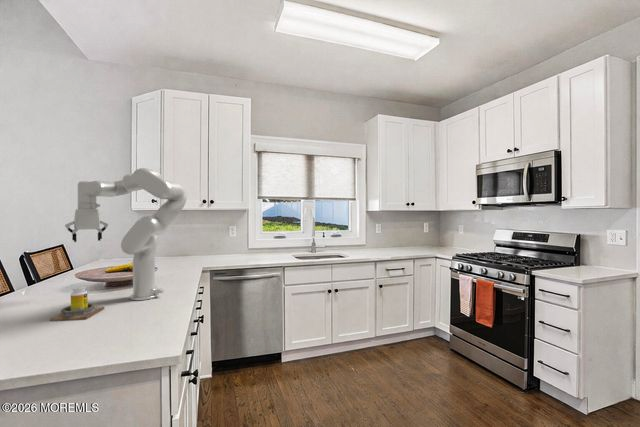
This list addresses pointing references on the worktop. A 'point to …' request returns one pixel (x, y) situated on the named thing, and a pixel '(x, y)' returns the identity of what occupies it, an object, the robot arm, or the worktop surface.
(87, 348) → the worktop surface
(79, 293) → the supplement bottle
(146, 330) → the worktop surface
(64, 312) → the rosette collar
